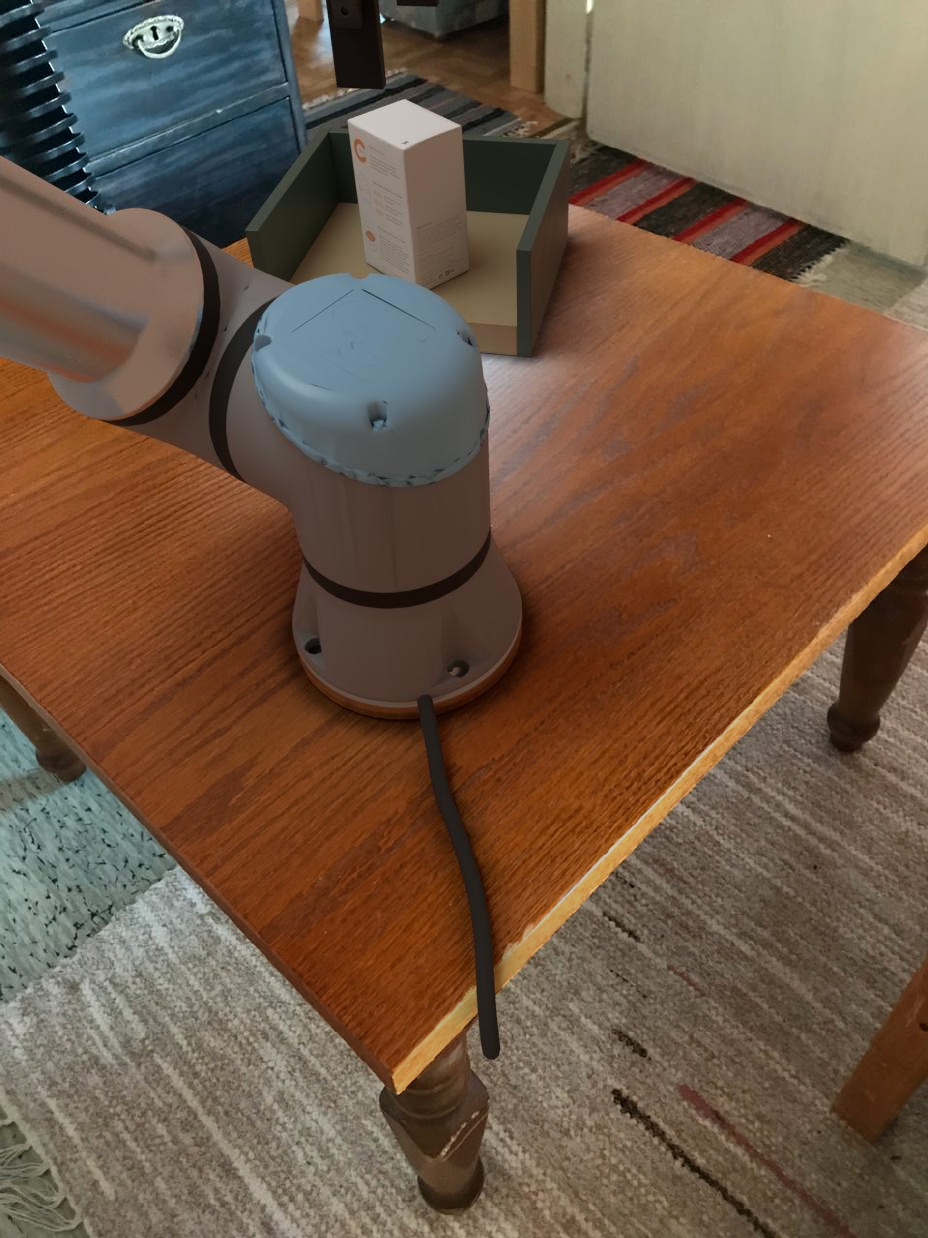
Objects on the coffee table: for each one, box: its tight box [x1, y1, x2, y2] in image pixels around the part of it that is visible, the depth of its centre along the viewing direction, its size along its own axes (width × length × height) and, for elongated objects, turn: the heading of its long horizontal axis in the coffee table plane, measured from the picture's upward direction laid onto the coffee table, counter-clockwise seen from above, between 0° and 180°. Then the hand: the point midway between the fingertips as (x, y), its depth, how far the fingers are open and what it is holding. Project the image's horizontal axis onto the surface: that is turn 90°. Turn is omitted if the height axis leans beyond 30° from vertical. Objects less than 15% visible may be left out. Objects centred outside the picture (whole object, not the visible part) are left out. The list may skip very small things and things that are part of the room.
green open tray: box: [244, 126, 572, 358], centre depth 91 cm, size 20×25×10 cm
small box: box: [347, 98, 470, 289], centre depth 86 cm, size 8×6×13 cm
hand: (392, 42), depth 60 cm, fingers open, 13 cm apart
